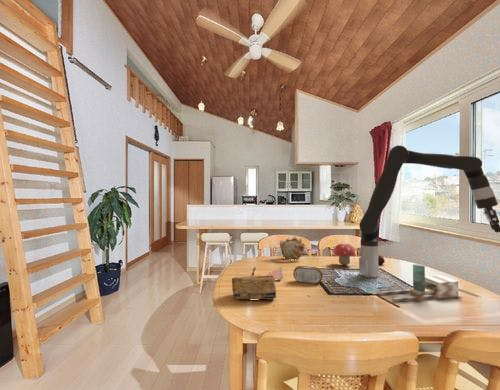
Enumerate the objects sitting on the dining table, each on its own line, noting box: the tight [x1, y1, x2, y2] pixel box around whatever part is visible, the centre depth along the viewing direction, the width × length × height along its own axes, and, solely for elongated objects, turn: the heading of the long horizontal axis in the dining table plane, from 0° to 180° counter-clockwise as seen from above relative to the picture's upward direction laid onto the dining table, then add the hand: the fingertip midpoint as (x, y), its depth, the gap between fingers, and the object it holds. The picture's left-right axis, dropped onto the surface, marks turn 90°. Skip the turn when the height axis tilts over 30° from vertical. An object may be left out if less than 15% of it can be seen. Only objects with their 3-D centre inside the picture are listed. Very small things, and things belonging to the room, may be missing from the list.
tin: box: [293, 265, 323, 285], centre depth 139 cm, size 15×3×8 cm, turn 71°
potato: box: [378, 254, 385, 266], centre depth 178 cm, size 7×8×6 cm
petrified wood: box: [231, 275, 277, 300], centre depth 119 cm, size 19×13×10 cm
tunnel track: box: [376, 274, 482, 309], centre depth 117 cm, size 42×13×8 cm, turn 101°
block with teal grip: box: [409, 263, 437, 296], centre depth 118 cm, size 16×5×13 cm, turn 101°
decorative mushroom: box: [333, 242, 356, 267], centre depth 174 cm, size 13×13×15 cm
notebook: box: [267, 266, 284, 281], centre depth 156 cm, size 27×17×2 cm, turn 174°
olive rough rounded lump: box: [279, 236, 307, 261], centre depth 191 cm, size 18×18×15 cm
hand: (496, 230), depth 123 cm, fingers open, 8 cm apart
